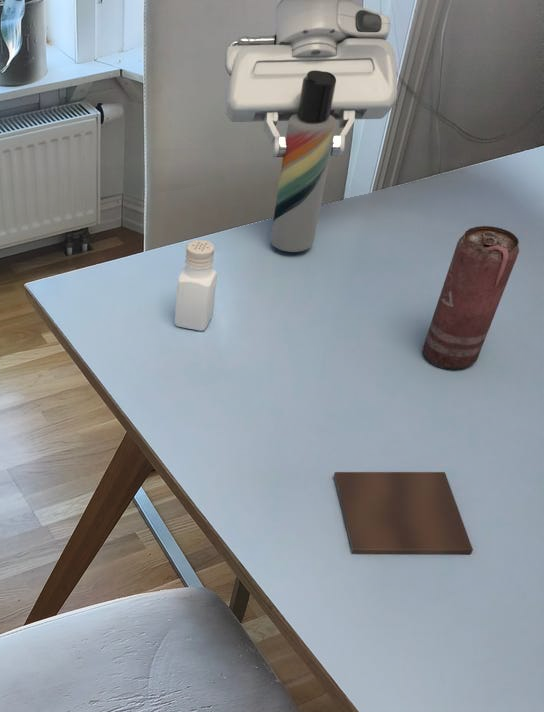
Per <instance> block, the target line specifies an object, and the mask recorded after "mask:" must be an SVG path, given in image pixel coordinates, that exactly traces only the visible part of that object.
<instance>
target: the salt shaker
mask: <svg viewBox="0 0 544 712" xmlns="http://www.w3.org/2000/svg"><path fill="white" fill-rule="evenodd" d="M185 250H186V252H185V260H184V261H185V262H184V263H185V266H184V267H183V268H182V270H181V272H180V274H179V275H178V277H177V284H176V298H175V309H174V310H175V311H174V324H175V326H177V327H179V328H183V329H184V328H185V329H188V330H189V329H190V330H195V331H199V332H201V331H205V330H206V328H207V326H208V324H209V323H210V320H211V319H212V317H213V314H214V308H215V307H214V306H215V299H216V290H217V289H216V288H217V279H218V271H216V270H215V269H214V268H213V264H214V255H215V245H214V243H212V242H211V241H209V240H205V239H195V240H191V241H190V242H188V243H187V244H186V249H185Z"/></svg>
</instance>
